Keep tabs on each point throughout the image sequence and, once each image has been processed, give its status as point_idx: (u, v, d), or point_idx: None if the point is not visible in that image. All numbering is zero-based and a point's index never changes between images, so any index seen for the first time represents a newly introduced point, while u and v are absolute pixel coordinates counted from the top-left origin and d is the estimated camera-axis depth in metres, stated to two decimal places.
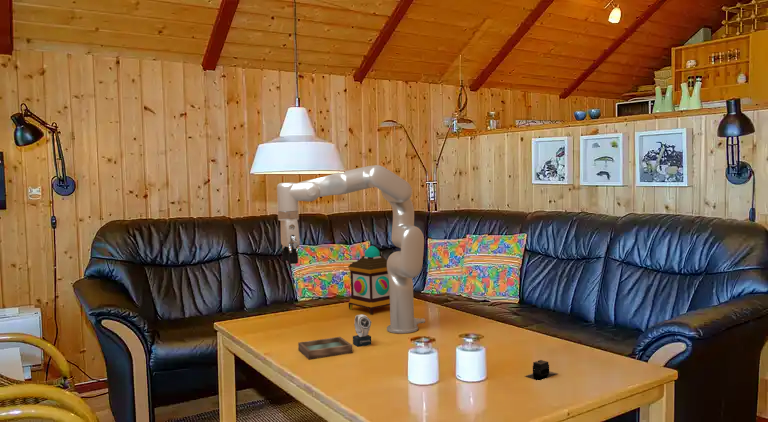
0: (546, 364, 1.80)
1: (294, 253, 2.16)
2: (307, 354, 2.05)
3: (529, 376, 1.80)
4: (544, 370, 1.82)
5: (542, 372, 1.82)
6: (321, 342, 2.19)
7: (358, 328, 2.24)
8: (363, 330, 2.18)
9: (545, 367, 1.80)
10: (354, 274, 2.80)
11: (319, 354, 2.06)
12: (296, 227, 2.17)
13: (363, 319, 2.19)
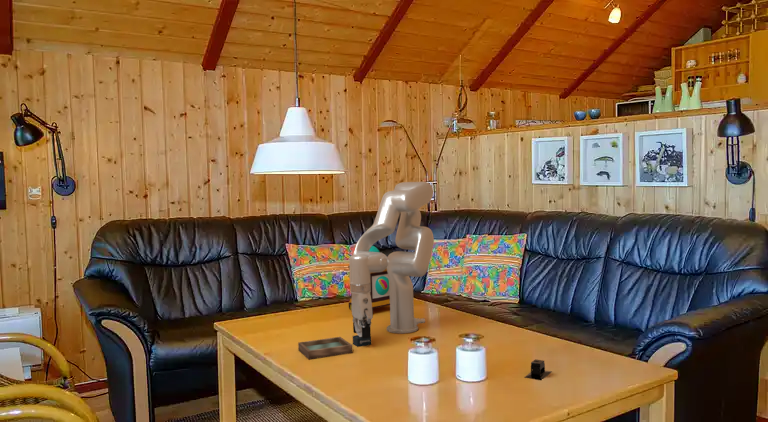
0: (543, 363, 1.82)
1: (367, 328, 2.16)
2: (307, 354, 2.05)
3: (529, 377, 1.80)
4: (539, 369, 1.83)
5: None
6: (321, 342, 2.19)
7: (358, 328, 2.24)
8: None
9: (542, 366, 1.81)
10: None
11: (319, 354, 2.06)
12: (369, 300, 2.17)
13: None
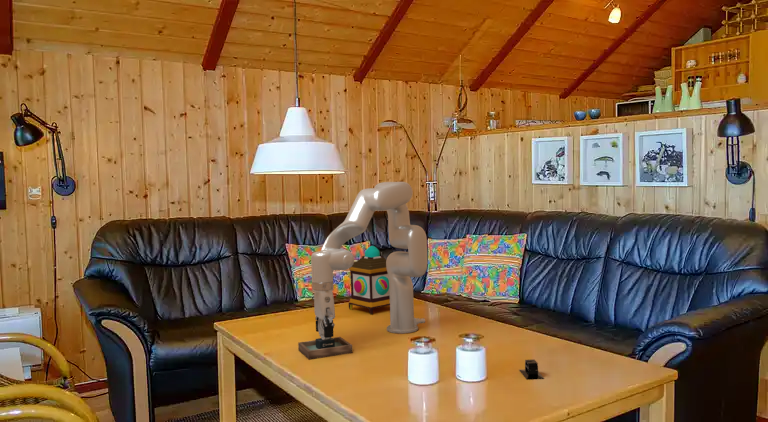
0: None
1: (330, 327, 2.08)
2: (307, 354, 2.05)
3: (530, 378, 1.78)
4: None
5: None
6: None
7: (322, 330, 2.16)
8: None
9: None
10: (354, 274, 2.80)
11: (319, 354, 2.06)
12: (331, 299, 2.09)
13: (326, 321, 2.12)
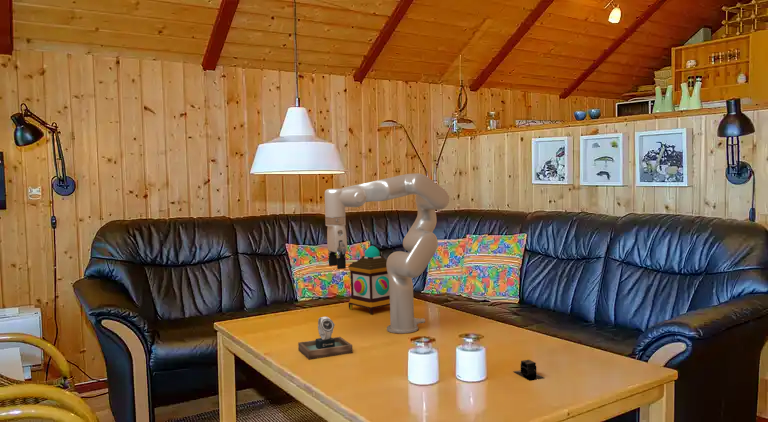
0: None
1: (342, 259, 2.20)
2: (307, 354, 2.05)
3: (531, 378, 1.78)
4: (525, 369, 1.84)
5: (527, 371, 1.83)
6: None
7: (322, 330, 2.16)
8: (326, 333, 2.10)
9: None
10: (354, 274, 2.80)
11: (319, 354, 2.06)
12: (344, 233, 2.21)
13: (326, 321, 2.12)
